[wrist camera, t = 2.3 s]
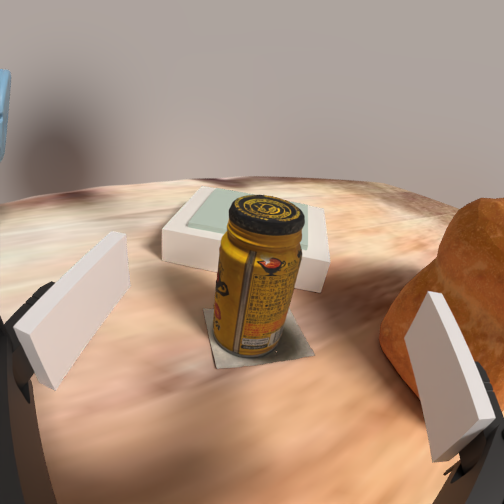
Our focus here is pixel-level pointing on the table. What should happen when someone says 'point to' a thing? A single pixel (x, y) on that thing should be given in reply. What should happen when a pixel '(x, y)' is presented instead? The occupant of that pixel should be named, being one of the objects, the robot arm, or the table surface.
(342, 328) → the table surface
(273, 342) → the condiment
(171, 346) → the table surface
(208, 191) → the riser
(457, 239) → the bread
